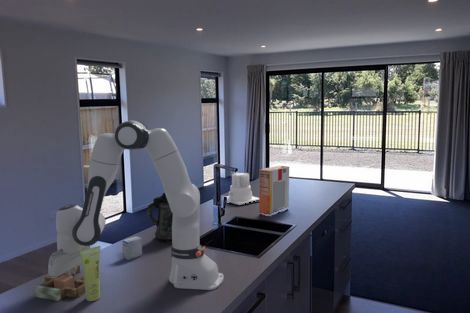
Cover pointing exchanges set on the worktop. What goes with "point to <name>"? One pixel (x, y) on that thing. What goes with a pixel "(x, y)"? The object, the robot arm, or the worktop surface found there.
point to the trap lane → (57, 294)
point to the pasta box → (274, 189)
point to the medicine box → (132, 247)
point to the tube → (91, 272)
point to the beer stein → (162, 219)
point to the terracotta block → (64, 282)
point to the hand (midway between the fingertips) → (71, 278)
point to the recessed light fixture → (240, 189)
